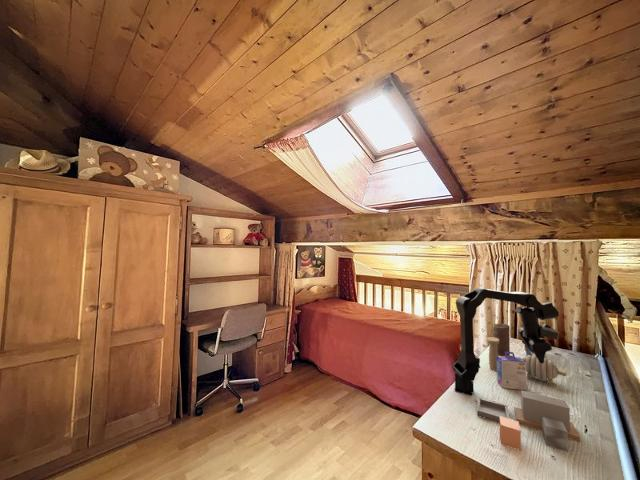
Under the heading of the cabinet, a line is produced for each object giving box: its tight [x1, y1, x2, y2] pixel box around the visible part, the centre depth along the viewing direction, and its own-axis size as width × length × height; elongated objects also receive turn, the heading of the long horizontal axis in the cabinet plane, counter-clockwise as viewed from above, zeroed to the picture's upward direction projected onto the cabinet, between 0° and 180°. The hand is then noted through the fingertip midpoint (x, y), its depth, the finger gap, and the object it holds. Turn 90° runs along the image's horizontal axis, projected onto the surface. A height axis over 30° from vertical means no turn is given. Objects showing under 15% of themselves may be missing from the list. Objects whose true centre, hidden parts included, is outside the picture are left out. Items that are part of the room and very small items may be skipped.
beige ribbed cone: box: [522, 354, 567, 386], centre depth 119 cm, size 11×17×11 cm, turn 47°
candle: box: [492, 323, 511, 356], centre depth 138 cm, size 8×7×20 cm
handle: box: [486, 336, 499, 371], centre depth 130 cm, size 5×6×15 cm
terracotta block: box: [499, 416, 522, 451], centre depth 81 cm, size 5×5×6 cm
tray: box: [476, 396, 511, 424], centre depth 95 cm, size 10×10×2 cm
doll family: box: [521, 338, 534, 357], centre depth 144 cm, size 23×9×13 cm, turn 144°
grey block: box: [542, 417, 569, 453], centre depth 81 cm, size 5×5×6 cm
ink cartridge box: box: [496, 351, 528, 391], centre depth 114 cm, size 10×6×14 cm, turn 78°
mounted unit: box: [513, 390, 581, 443], centre depth 89 cm, size 16×8×9 cm, turn 58°
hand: (537, 357), depth 109 cm, fingers open, 9 cm apart
